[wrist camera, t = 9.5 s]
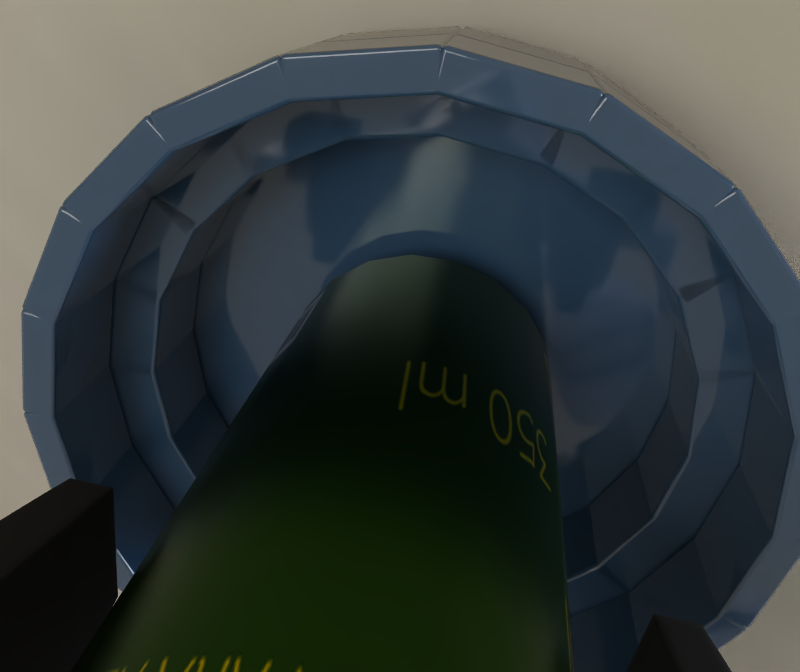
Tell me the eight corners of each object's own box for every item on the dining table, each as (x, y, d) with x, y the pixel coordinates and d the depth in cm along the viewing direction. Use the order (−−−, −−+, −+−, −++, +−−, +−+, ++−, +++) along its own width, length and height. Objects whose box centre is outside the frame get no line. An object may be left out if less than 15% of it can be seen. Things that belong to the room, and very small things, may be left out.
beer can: (280, 421, 16) (-148, 1222, 6) (328, 207, 14) (-278, 936, 3) (501, 490, 16) (470, 1424, 6) (589, 287, 14) (821, 1291, 3)
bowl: (601, 627, 19) (623, 802, 15) (128, 486, 19) (25, 620, 15) (880, 141, 12) (1050, 217, 8) (170, -61, 13) (12, -79, 9)
